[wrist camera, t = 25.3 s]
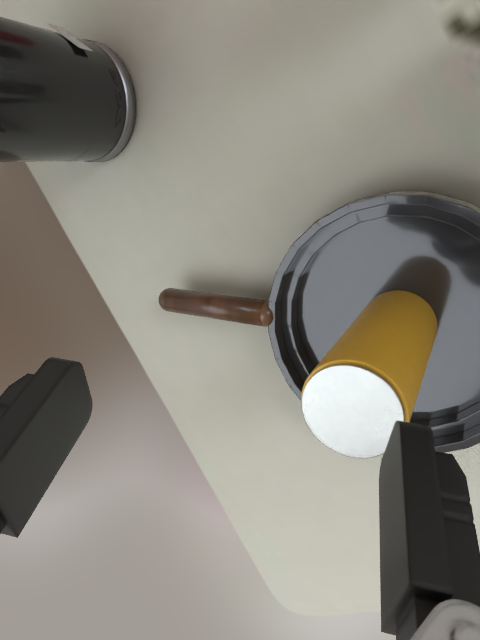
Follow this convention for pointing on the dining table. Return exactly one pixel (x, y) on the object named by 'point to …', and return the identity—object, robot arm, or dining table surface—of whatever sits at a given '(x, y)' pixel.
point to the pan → (382, 276)
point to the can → (371, 375)
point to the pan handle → (217, 306)
